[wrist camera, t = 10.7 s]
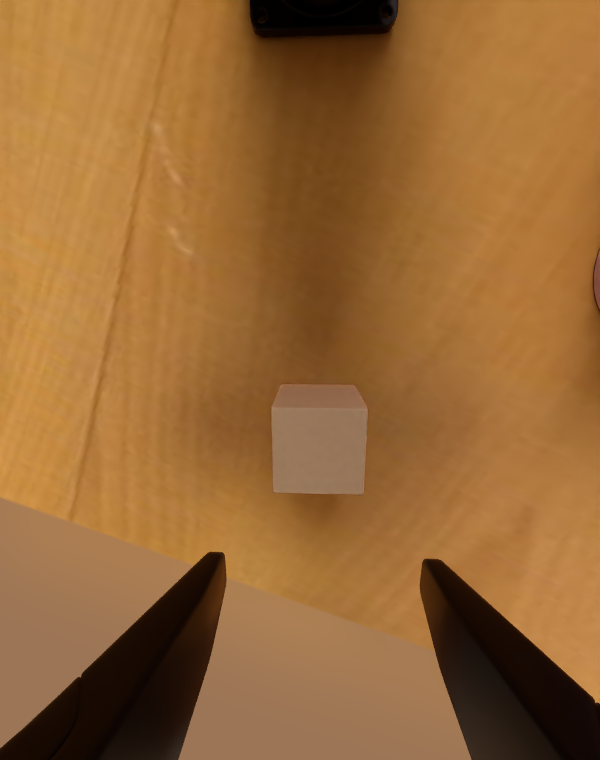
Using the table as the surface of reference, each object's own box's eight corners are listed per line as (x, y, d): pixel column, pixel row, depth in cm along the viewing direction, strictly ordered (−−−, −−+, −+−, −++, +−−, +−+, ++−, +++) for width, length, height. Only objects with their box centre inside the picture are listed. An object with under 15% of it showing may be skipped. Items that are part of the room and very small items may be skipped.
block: (355, 384, 18) (368, 408, 14) (352, 453, 19) (363, 495, 15) (280, 383, 18) (270, 407, 14) (281, 451, 19) (272, 493, 15)
